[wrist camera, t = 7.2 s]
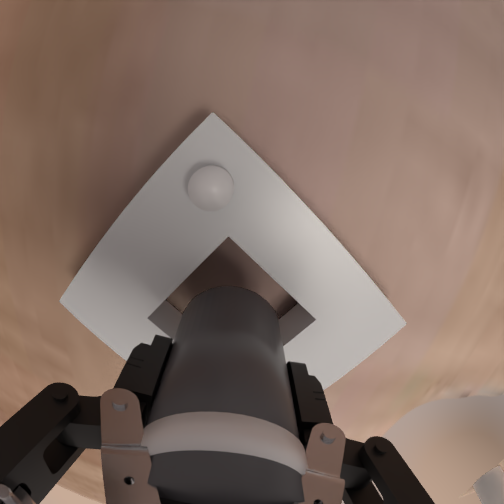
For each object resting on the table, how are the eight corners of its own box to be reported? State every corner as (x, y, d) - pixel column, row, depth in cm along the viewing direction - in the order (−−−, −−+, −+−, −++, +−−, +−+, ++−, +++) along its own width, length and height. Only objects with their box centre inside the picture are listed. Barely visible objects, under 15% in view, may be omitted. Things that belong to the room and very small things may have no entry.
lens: (302, 330, 15) (351, 509, 6) (231, 383, 16) (225, 548, 7) (227, 262, 14) (201, 454, 5) (159, 328, 15) (91, 497, 6)
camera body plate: (388, 301, 20) (413, 332, 16) (244, 411, 22) (244, 449, 19) (218, 119, 16) (210, 108, 12) (80, 282, 19) (51, 308, 15)
